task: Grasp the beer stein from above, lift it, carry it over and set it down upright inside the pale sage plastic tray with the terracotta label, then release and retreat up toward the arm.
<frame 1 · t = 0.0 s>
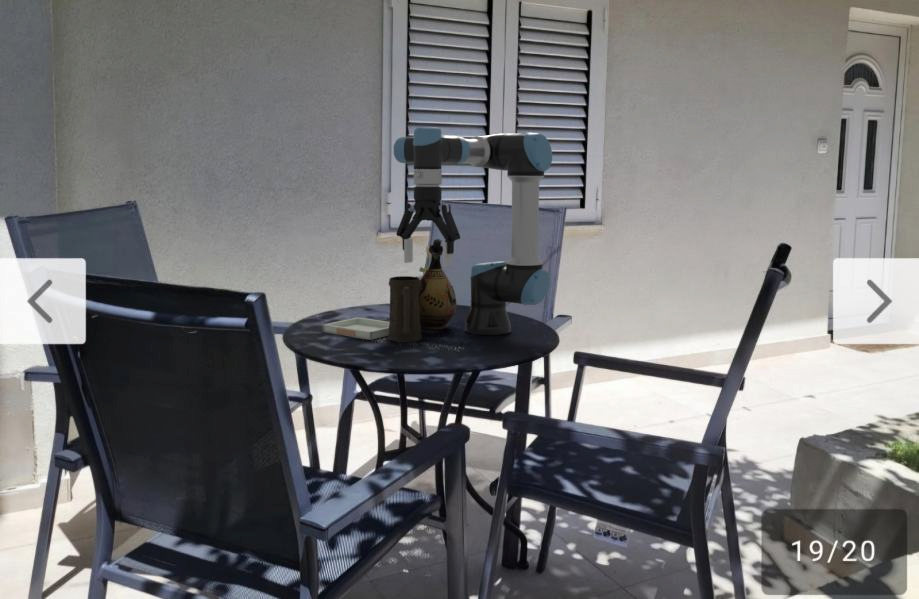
hand: (427, 264, 231), 28 cm above the table, tool pointing down, fingers open, 13 cm apart
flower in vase: (424, 312, 319), on the table
tray: (364, 331, 281), on the table
beer stein: (406, 341, 268), on the table
ceramic jug: (433, 327, 290), on the table
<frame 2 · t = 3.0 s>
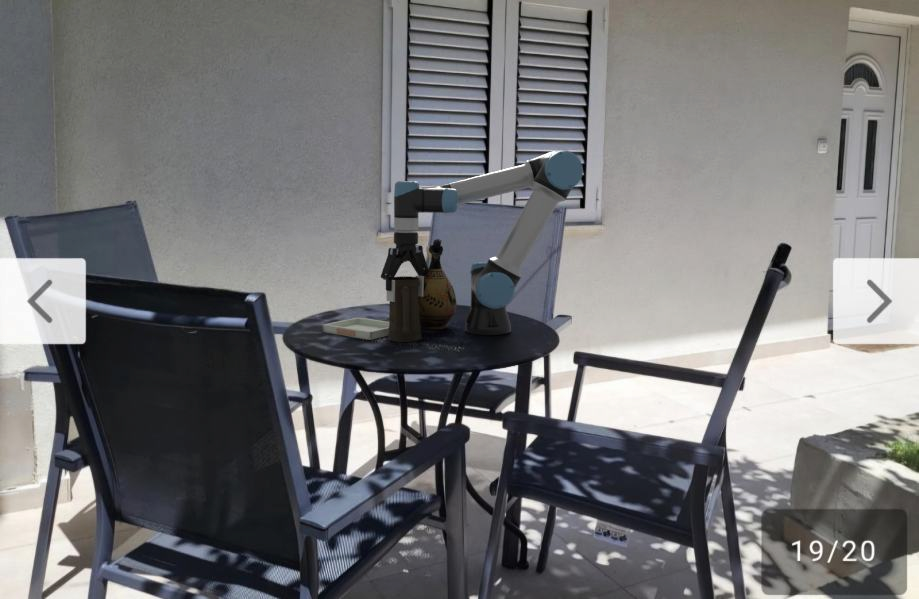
hand: (405, 299, 265), 13 cm above the table, tool pointing down, fingers open, 13 cm apart
beer stein: (406, 340, 267), on the table, touching gripper
everything else where it was.
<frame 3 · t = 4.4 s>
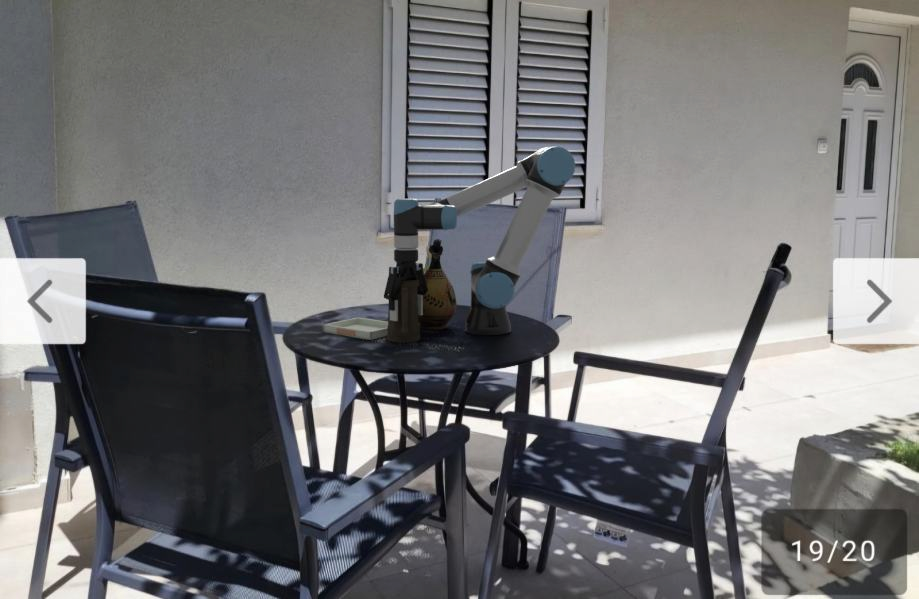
hand: (406, 317, 267), 7 cm above the table, tool pointing down, fingers closed on beer stein, 11 cm apart
beer stein: (405, 341, 267), on the table, touching gripper
everything else where it was.
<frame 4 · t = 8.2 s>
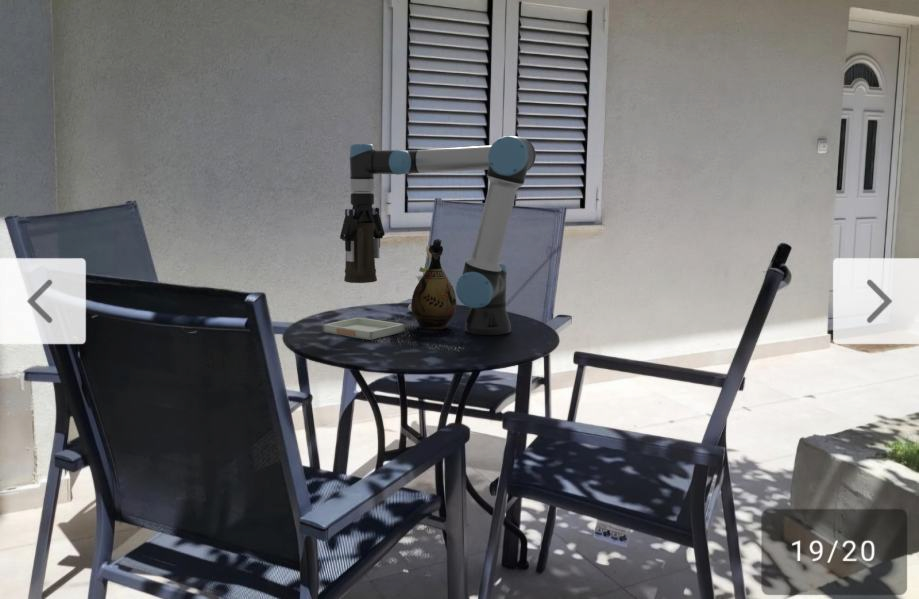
hand: (363, 259, 277), 24 cm above the table, tool pointing down, fingers closed on beer stein, 11 cm apart
beer stein: (361, 282, 277), point 17 cm above the table, touching gripper
everything else where it was.
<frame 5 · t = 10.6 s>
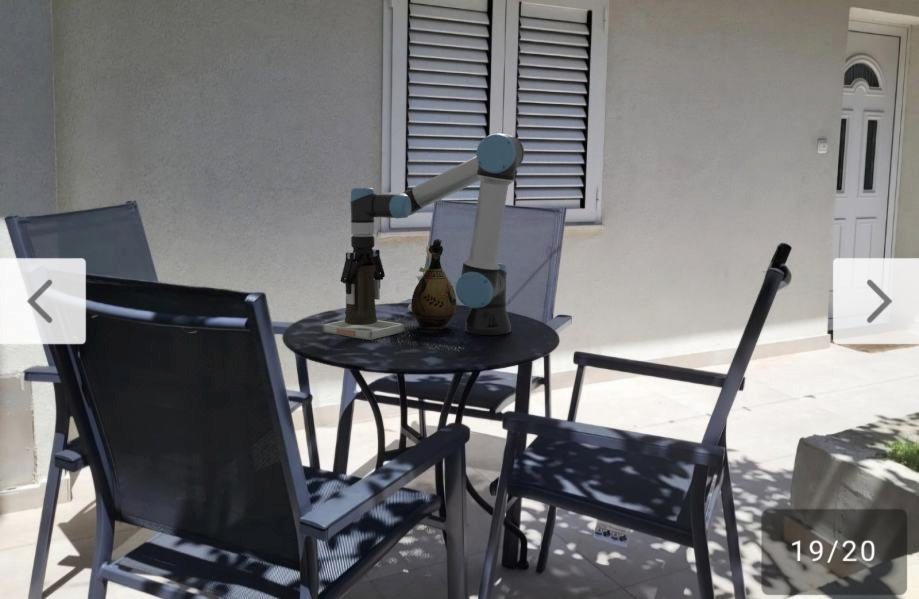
hand: (363, 301, 279), 10 cm above the table, tool pointing down, fingers closed on beer stein, 11 cm apart
beer stein: (362, 324, 279), point 3 cm above the table, touching gripper
everything else where it was.
when the fingers open (9 cm above the table, at t = 12.0 s): beer stein drops 1 cm, resting on tray.
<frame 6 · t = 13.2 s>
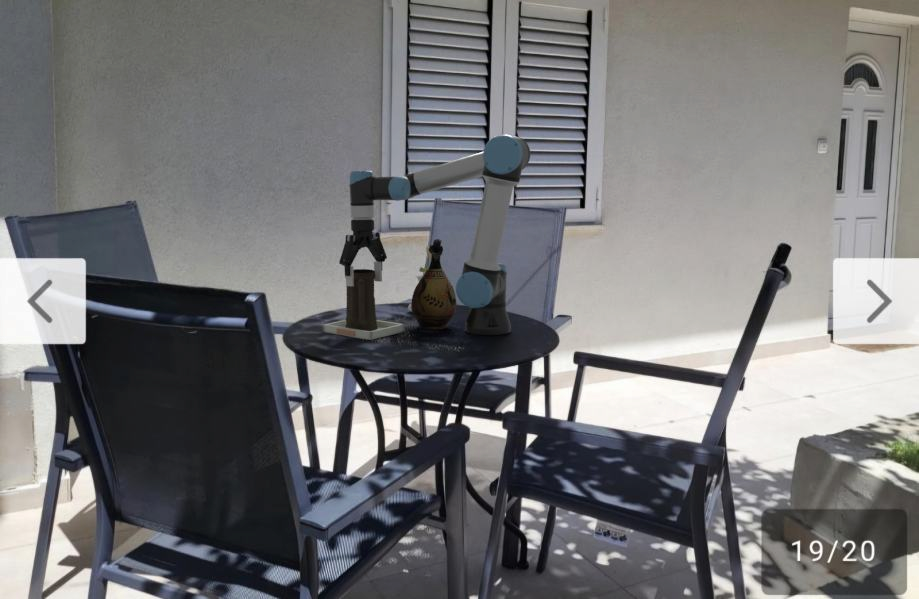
hand: (364, 283, 278), 16 cm above the table, tool pointing down, fingers open, 13 cm apart
beer stein: (362, 331, 280), resting on tray
everything else where it was.
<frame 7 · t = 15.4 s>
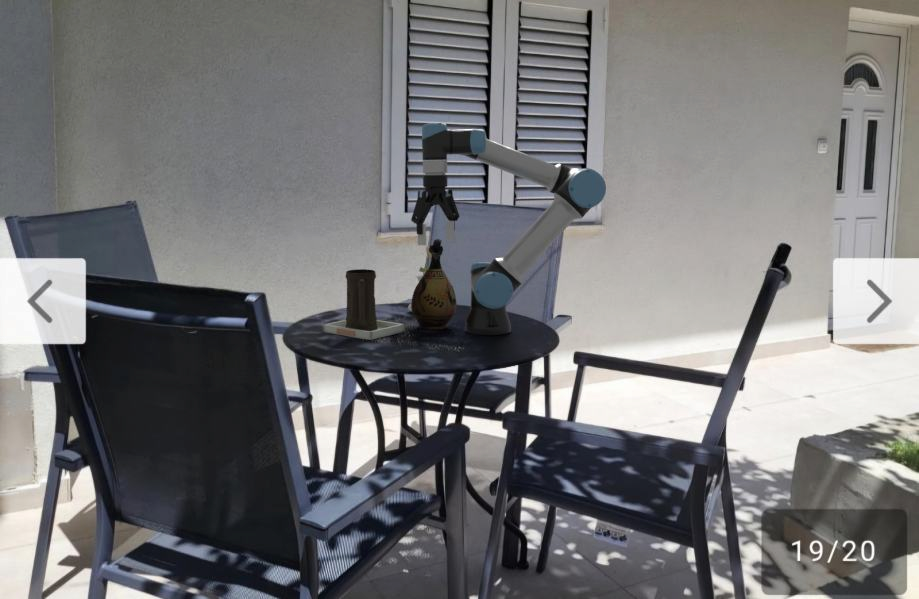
hand: (436, 243, 264), 31 cm above the table, tool pointing down, fingers open, 13 cm apart
nothing on the table moved.
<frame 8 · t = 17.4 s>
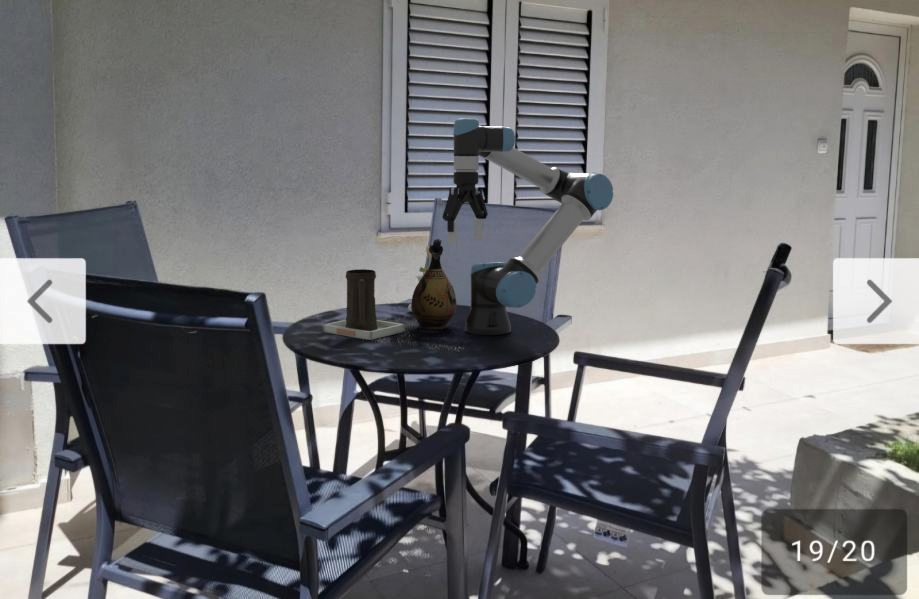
hand: (465, 241, 259), 32 cm above the table, tool pointing down, fingers open, 13 cm apart
nothing on the table moved.
at the end: beer stein inside the target area on the tray (1.1 cm from its centre), point 0.4 cm above the tray's base; beer stein tilted 0°; the gripper is holding nothing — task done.
